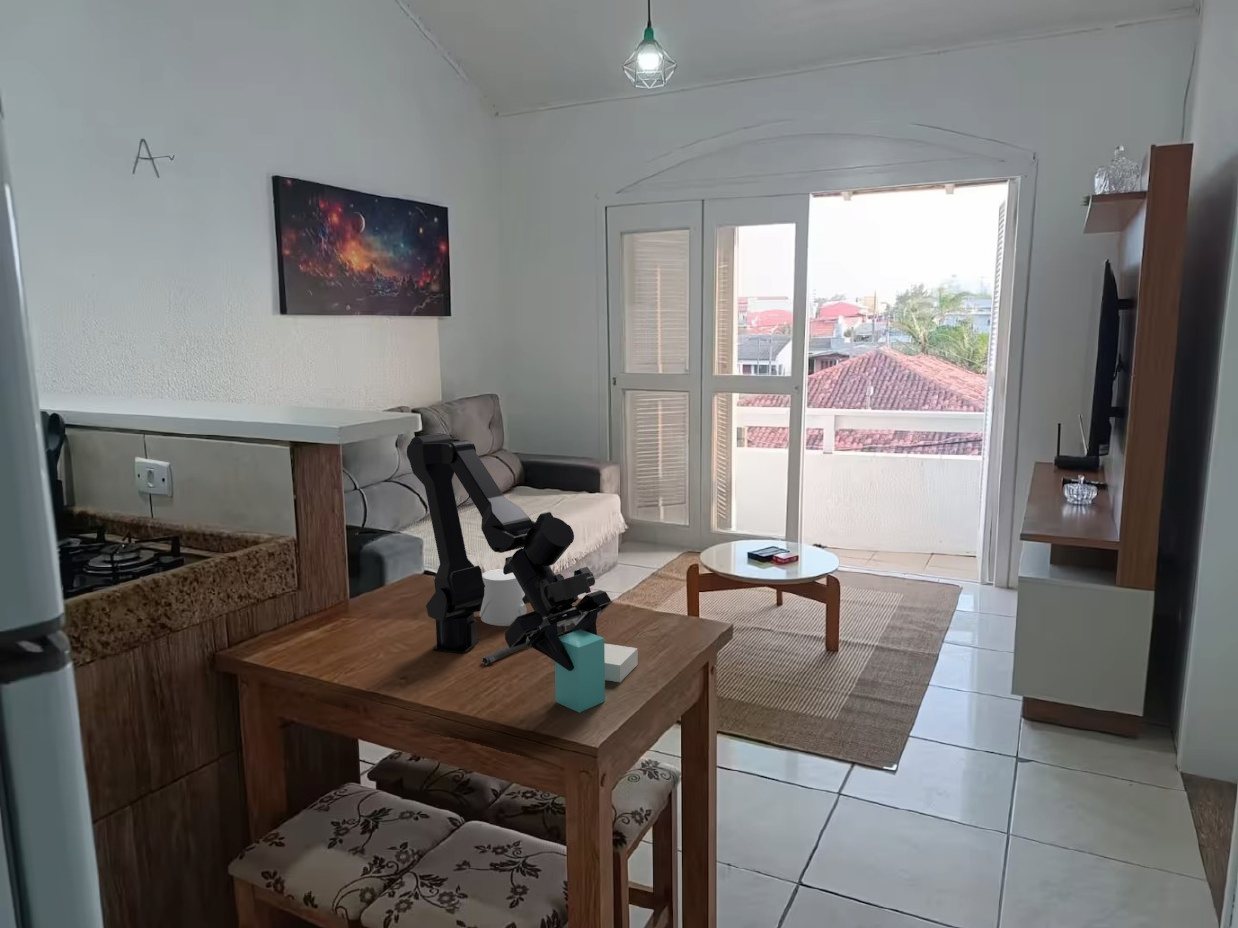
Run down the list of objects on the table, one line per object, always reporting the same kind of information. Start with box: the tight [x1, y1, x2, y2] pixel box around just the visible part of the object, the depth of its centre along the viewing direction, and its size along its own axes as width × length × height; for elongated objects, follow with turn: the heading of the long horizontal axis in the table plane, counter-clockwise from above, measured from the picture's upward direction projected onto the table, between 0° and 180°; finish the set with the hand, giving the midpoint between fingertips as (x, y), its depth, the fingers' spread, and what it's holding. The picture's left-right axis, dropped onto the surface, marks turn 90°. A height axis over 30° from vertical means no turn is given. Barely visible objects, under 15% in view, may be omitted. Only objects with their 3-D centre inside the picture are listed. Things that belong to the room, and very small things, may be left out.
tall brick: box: [554, 629, 606, 713], centre depth 137 cm, size 6×6×10 cm
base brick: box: [604, 642, 639, 683], centre depth 150 cm, size 8×8×3 cm
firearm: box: [481, 604, 577, 665], centre depth 168 cm, size 3×30×15 cm
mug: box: [479, 568, 528, 627], centre depth 175 cm, size 12×9×8 cm
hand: (585, 664), depth 136 cm, fingers closed on tall brick, 5 cm apart
